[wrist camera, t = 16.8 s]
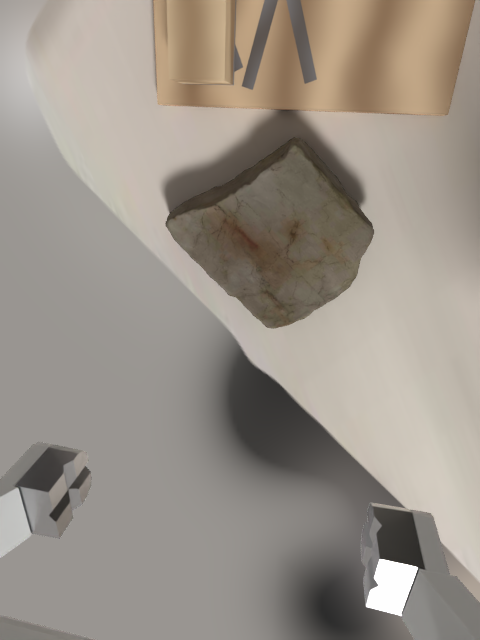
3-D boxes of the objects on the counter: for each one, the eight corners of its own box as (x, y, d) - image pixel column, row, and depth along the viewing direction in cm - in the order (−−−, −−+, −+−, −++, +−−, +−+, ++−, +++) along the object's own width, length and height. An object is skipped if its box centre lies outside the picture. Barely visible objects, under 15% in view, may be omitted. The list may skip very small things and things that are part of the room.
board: (479, -43, 28) (487, -52, 27) (442, 115, 32) (447, 114, 31) (158, -36, 32) (151, -44, 31) (163, 105, 36) (157, 104, 35)
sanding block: (237, -22, 30) (227, -40, 27) (234, 85, 33) (224, 80, 30) (181, -21, 31) (165, -38, 28) (183, 84, 34) (168, 79, 31)
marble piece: (169, 216, 41) (154, 224, 37) (276, 102, 35) (270, 98, 31) (276, 330, 44) (272, 348, 40) (391, 243, 38) (399, 255, 34)
